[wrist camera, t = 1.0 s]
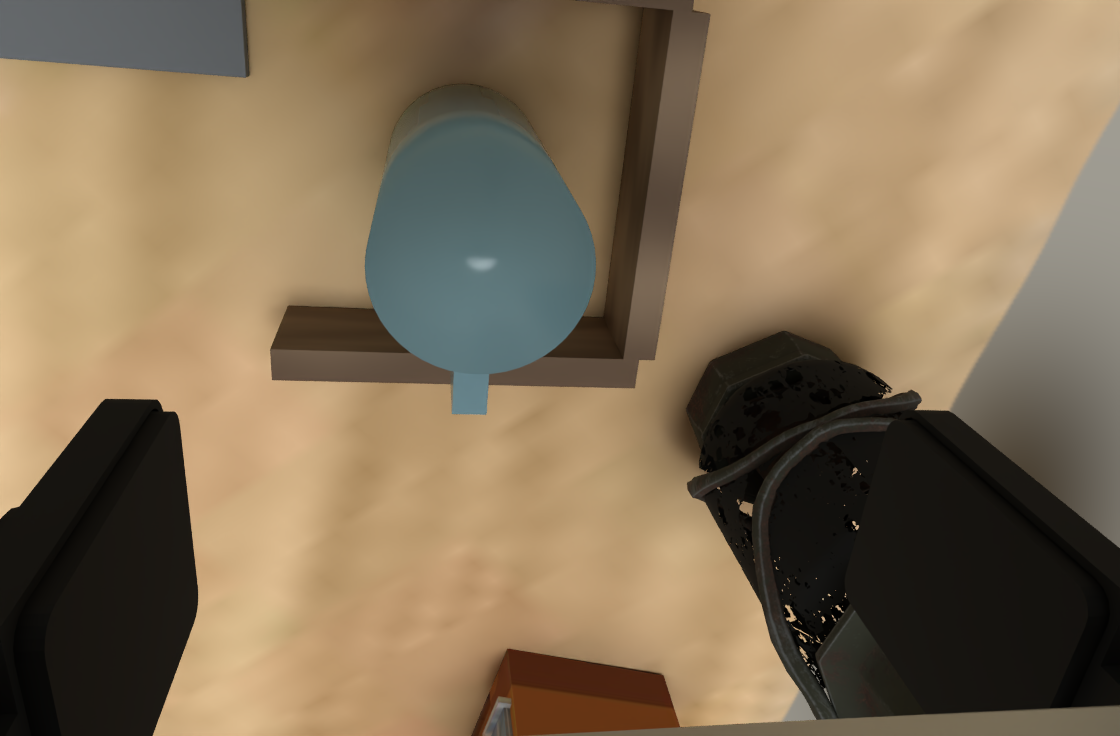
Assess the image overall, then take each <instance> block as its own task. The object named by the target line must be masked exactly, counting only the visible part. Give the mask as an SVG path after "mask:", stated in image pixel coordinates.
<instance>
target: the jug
mask: <svg viewBox="0 0 1120 736" xmlns="http://www.w3.org/2000/svg"><path fill="white" fill-rule="evenodd" d="M595 271H596V257H595V247H594V243H593V239H592V234H591V232H590V229H589V226H588V224H587V221H586V219H585V217H584V215H583V214H582V212H581V210H580V208H579V206H578V205H577V203H576V201H575V200H574V198H573V196H572V194H571V193H570V191H569V189H568V188H567V186H566V184H565V183H564V181H563V179H562V177H561V176H560V174H559V172H558V171H557V169H556V167H555V165H554V164H553V162H552V160H551V159H550V157H549V155H548V153H547V152H546V150H545V148H544V147H543V145H542V143H541V142H540V140H539V138H538V136H537V135H536V133H535V131H534V130H533V128H532V126H531V124H530V123H529V121H528V120H527V118H526V117H525V115H524V114H523V113H522V111H521V110H520V109H519V108H518V107H517V106H516V105H515V104H514V103H512V102H511V101H510V100H509V99H508V98H506V97H504V96H503V95H501V94H500V93H498V92H496V91H493V90H491V89H489V88H485V87H482V86H478V85H471V84H454V85H447V86H444V87H440V88H437V89H435V90H432V91H430V92H428V93H426V94H424V95H423V96H421V97H420V98H418V99H417V100H416V101H415V102H413V103H412V104H411V105H410V106H409V107H408V108H407V109H406V111H405V112H404V113H403V115H402V116H401V117H400V119H399V121H398V123H397V125H396V126H395V128H394V131H393V134H392V137H391V141H390V145H389V150H388V154H387V159H386V163H385V168H384V172H383V176H382V181H381V185H380V190H379V194H378V199H377V203H376V208H375V212H374V217H373V221H372V225H371V230H370V234H369V239H368V244H367V249H366V257H365V275H366V283H367V288H368V292H369V296H370V299H371V302H372V304H373V307H374V309H375V311H376V313H377V315H378V317H379V319H380V321H381V322H382V323H383V325H384V326H385V328H386V329H387V330H388V332H389V333H390V334H391V335H392V336H393V337H394V338H395V339H396V341H397V342H398V343H399V344H401V345H402V346H403V347H404V348H405V349H407V350H408V351H409V352H410V353H412V354H414V355H415V356H417V357H418V358H420V359H421V360H423V361H426V362H428V363H430V364H432V365H434V366H437V367H440V368H443V369H446V370H449V371H450V380H451V403H452V414H483V415H486V413H487V398H488V383H489V374H494V373H501V372H506V371H510V370H513V369H517V368H520V367H523V366H525V365H527V364H530V363H532V362H534V361H536V360H538V359H539V358H541V357H543V356H545V355H546V354H548V353H549V352H550V351H552V350H553V349H554V348H556V347H557V346H558V345H559V344H560V343H561V342H562V341H563V340H564V339H566V337H567V336H568V335H569V334H570V333H571V331H572V330H573V329H574V328H575V326H576V325H577V323H578V322H579V320H580V319H581V317H582V316H583V313H584V311H585V309H586V307H587V305H588V303H589V300H590V297H591V294H592V291H593V286H594V280H595Z"/></svg>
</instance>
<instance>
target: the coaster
mask: <svg viewBox="0 0 1120 736" xmlns="http://www.w3.org/2000/svg"><path fill="white" fill-rule="evenodd" d="M0 58H6V59H19V60H31V61H44V62H56V63H69V64H81V65H94V66H106V67H119V68H131V69H144V70H156V71H169V72H181V73H194V74H206V75H219V76H231V77H244V78H246V77H248V76H249V62H248V46H247V30H246V14H245V0H0Z"/></svg>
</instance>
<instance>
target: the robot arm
mask: <svg viewBox="0 0 1120 736" xmlns="http://www.w3.org/2000/svg"><path fill="white" fill-rule="evenodd" d="M845 591H846V595H847V598H848V601H849V602H850V604H851V606H852V607H853V609H854V610H855V612H856V613H857V615H858V616H859V617H860V619H861V620H862V622H863V623H864V625H865V626H866V628H867V629H868V631H869V632H870V634H871V635H872V636H873V638H874V639H875V641H876V642H877V644H878V645H879V647H880V648H881V650H882V651H883V652H884V654H885V655H886V657H887V658H888V660H889V661H890V663H891V664H892V666H893V667H894V669H895V670H896V671H897V673H898V674H899V676H900V677H901V679H902V680H903V682H904V683H905V685H906V686H907V688H908V689H909V690H910V692H911V693H912V695H913V696H914V698H915V699H916V701H917V702H918V704H919V705H920V706H921V708H922V709H923V711H924V712H925V714H923V715H904V716H884V717H864V718H845V719H826V720H807V721H787V722H768V723H749V724H731V725H713V726H695V727H677V728H659V729H641V730H623V731H605V732H587V733H568V734H549V735H531V736H1120V548H1119V547H1117V546H1116V545H1115V544H1114V543H1112V542H1111V541H1110V540H1109V539H1107V538H1106V537H1105V536H1104V535H1102V534H1101V533H1100V532H1099V531H1098V530H1096V529H1095V528H1094V527H1093V526H1092V525H1090V524H1089V523H1088V522H1087V521H1085V520H1084V519H1083V518H1082V517H1080V516H1079V515H1078V514H1077V513H1076V512H1074V511H1073V510H1072V509H1071V508H1069V507H1068V506H1067V505H1066V504H1064V503H1063V502H1062V501H1060V500H1059V499H1058V498H1057V497H1056V496H1055V495H1053V494H1052V493H1051V492H1049V491H1048V490H1047V489H1046V488H1045V487H1043V486H1042V485H1041V484H1040V483H1039V482H1037V481H1036V480H1035V479H1034V478H1032V477H1031V476H1030V475H1028V474H1027V473H1026V472H1025V471H1024V470H1022V469H1021V468H1020V467H1019V466H1018V465H1016V464H1015V463H1014V462H1012V461H1011V460H1010V459H1009V458H1008V457H1006V456H1005V455H1004V454H1003V453H1002V452H1000V451H999V450H998V449H996V448H995V447H994V446H993V445H991V444H990V443H989V442H988V441H987V440H985V439H984V438H983V437H982V436H981V435H979V434H978V433H977V432H976V431H974V430H973V429H972V428H971V427H969V426H968V425H967V424H966V423H964V422H963V421H962V420H961V419H960V418H958V417H957V416H956V415H955V414H953V413H951V412H949V411H934V410H907V411H905V412H903V413H902V414H901V415H900V417H899V418H898V420H894V421H892V422H891V423H890V424H889V425H888V427H887V430H886V432H885V436H884V439H883V443H882V447H881V450H880V454H879V457H878V461H877V464H876V468H875V472H874V475H873V479H872V482H871V486H870V489H869V493H868V496H867V500H866V504H865V507H864V511H863V514H862V518H861V521H860V525H859V529H858V532H857V536H856V539H855V543H854V546H853V550H852V554H851V557H850V561H849V564H848V568H847V571H846V575H845ZM197 606H198V585H197V576H196V567H195V558H194V549H193V540H192V531H191V522H190V513H189V504H188V495H187V486H186V477H185V467H184V458H183V449H182V440H181V431H180V423H179V418H178V415H177V414H176V412H163V409H162V406H161V404H160V402H159V401H158V400H141V399H105V400H104V401H103V402H101V404H100V405H99V406H98V407H97V409H96V410H95V411H94V412H93V414H92V415H91V416H90V418H89V419H88V420H87V421H86V423H85V424H84V425H83V426H82V428H81V429H80V430H79V432H78V433H77V434H76V435H75V437H74V438H73V439H72V440H71V442H70V443H69V444H68V446H67V447H66V448H65V449H64V451H63V452H62V453H61V454H60V456H59V457H58V458H57V460H56V461H55V462H54V463H53V465H52V466H51V467H50V468H49V470H48V471H47V472H46V473H45V475H44V476H43V477H42V479H41V480H40V481H39V482H38V484H37V485H36V486H35V487H34V489H33V490H32V491H31V493H30V494H29V495H28V496H27V498H26V499H25V500H24V501H23V503H22V504H21V505H20V507H16V508H12V509H10V510H9V511H8V512H7V513H6V514H5V515H4V516H3V517H2V518H1V519H0V736H153V733H154V730H155V727H156V725H157V722H158V719H159V717H160V714H161V711H162V708H163V706H164V703H165V700H166V698H167V695H168V692H169V689H170V687H171V684H172V681H173V679H174V676H175V673H176V670H177V668H178V665H179V662H180V660H181V657H182V654H183V651H184V649H185V646H186V643H187V641H188V638H189V635H190V632H191V630H192V627H193V624H194V621H195V618H196V613H197Z"/></svg>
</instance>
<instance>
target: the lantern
mask: <svg viewBox="0 0 1120 736" xmlns="http://www.w3.org/2000/svg"><path fill="white" fill-rule="evenodd" d="M859 368H860V369H859ZM863 370H864V371H863ZM875 381H876V382H875ZM876 383H877V384H876ZM881 385H883V386H884V387H883V386H881ZM886 386H887V389H888V387H889V388H890V389H892V388H891V387H890V386H888V385H887V384H886V383H885V382H884V381H883V380H881V379H880V378H879V377H877V376H876V375H874V374H873V373H871V372H869V371H867V370H865V369H863V368H861V367H859V366H857V365H853V364H849V363H845V362H842V361H841V360H840V359H839V358H838V357H837V356H836V355H835V354H834V353H833V352H832V351H831V350H830V349H829V348H826V347H824V346H821V345H819V344H816V343H814V342H811V341H809V340H806V339H804V338H801V337H799V336H796V335H794V334H791V333H789V332H786V331H782V332H780V333H778V334H775V335H773V336H770V337H768V338H766V339H763V340H761V341H758V342H756V343H754V344H751V345H749V346H746V347H744V348H742V349H739V350H737V351H734V352H732V353H730V354H727V355H725V356H722V357H720V358H718V359H715V360H713V361H711V362H710V364H709V365H708V367H707V369H706V371H705V373H704V375H703V377H702V379H701V381H700V383H699V385H698V387H697V389H696V391H695V393H694V395H693V396H692V398H691V400H690V402H689V404H688V406H687V408H686V411H687V414H688V417H689V419H690V422H691V425H692V427H693V430H694V433H695V435H696V438H697V441H698V443H699V446H700V449H701V455H700V460H701V459H702V460H701V462H700V460H699V468H701V467H702V468H701V469H702V470H704V471H706V470H707V469H708V470H707V474H704V475H700V476H697V477H694V478H693V479H692V480H691V481H689V482H688V483H687V487H688V491H689V493H690V494H691V496H692V497H693V498H696V499H699V500H702V501H704V502H705V503H706V505H707V506H708V508H709V510H710V512H711V514H712V516H713V518H714V519H715V521H716V523H717V525H718V527H719V528H720V530H721V532H722V534H723V536H724V537H725V539H726V541H727V543H728V545H729V546H730V548H731V550H732V552H733V554H734V555H735V557H736V559H737V560H738V563H739V564H740V565H741V567H742V570H743V572H744V573H745V575H746V577H747V579H748V581H749V582H750V584H751V586H752V588H753V590H754V591H755V593H756V595H757V597H758V599H759V600H760V602H761V604H762V608H763V612H764V615H765V619H766V623H767V627H768V631H769V635H770V638H771V642H772V644H773V646H774V647H775V649H776V651H777V653H778V655H779V657H780V659H781V661H782V663H783V665H784V667H785V669H786V671H787V673H788V674H789V675H790V677H791V678H792V680H793V681H794V682H795V684H796V685H797V687H798V688H799V689H800V691H801V692H802V694H803V695H804V697H805V699H806V700H807V702H808V704H809V706H810V708H811V710H812V712H813V714H814V716H815V717H816V719H817V720H826V719H845V718H864V717H884V716H904V715H923V714H925V712H924V711H923V709H922V708H921V706H920V705H919V704H918V702H917V701H916V699H915V698H914V696H913V695H912V693H911V692H910V690H909V689H908V688H907V686H906V685H905V683H904V682H903V680H902V679H901V677H900V676H899V674H898V673H897V671H896V670H895V669H894V667H893V666H892V664H891V663H890V661H889V660H888V658H887V657H886V655H885V654H884V652H883V651H882V650H881V648H880V647H879V645H878V644H877V642H876V641H875V639H874V638H873V636H872V635H871V634H870V632H869V631H868V629H867V628H866V626H865V625H864V623H863V622H862V620H861V619H860V617H859V616H858V615H857V613H856V612H855V610H854V609H853V607H852V606H851V604H850V602H849V601H848V598H847V596H846V595H845V593H846V591H845V575H846V571H847V568H848V564H849V561H850V557H851V554H852V550H853V546H854V543H855V539H856V536H857V532H858V530H856V529H855V527H856V526H857V525H860V521H861V518H862V514H863V511H864V507H865V504H866V500H867V496H868V493H869V489H870V486H871V482H872V479H873V475H874V472H875V468H876V464H877V461H878V457H879V454H880V450H881V447H882V443H883V439H884V436H885V432H886V430H887V427H888V425H889V424H890V423H891V422H892V421H894V420H898V418H899V417H900V415H901V414H902V413H903V412H905V411H907V410H915V409H916V408H917V406H918V404H920V403H921V401H922V399H921V397H920V396H919V394H918V393H917V392H915V391H913V390H910V391H908V392H907V393H900V394H897V395H894V396H892V397H890V398H885V399H882V397H883V395H884V394H886V393H885V392H887V390H886V389H885V388H886ZM890 389H888V390H889V391H888V393H891V391H890ZM878 393H880V394H881V393H883V394H881V395H880V394H878ZM866 460H867V461H868V462H867V461H866ZM855 467H856V468H857V469H858V471H857V473H856V474H853V472H854V471H853V468H855ZM708 472H709V473H708ZM860 473H861V475H860ZM852 474H853V475H852ZM851 475H852V476H851ZM850 477H851V478H850ZM717 487H720V490H719V489H717ZM720 491H721V492H722V493H721V492H720ZM737 499H739V501H740V504H739V505H738V502H737ZM743 501H745V502H748V503H751V504H753V511H752V517H751V516H749V514H748V512H747V514H748V515H747V514H745V513H743V512H742V511H741V510H740V509H739V506H740V505H741V504H742V503H741V502H743ZM844 505H845V506H844ZM719 514H720V515H719ZM843 519H844V520H843ZM852 521H855V522H856V526H854V525H853V523H852ZM725 525H726V526H725ZM852 527H853V528H852ZM853 529H854V530H853ZM745 533H746V534H745ZM747 535H748V536H747ZM746 538H747V539H746ZM747 540H748V541H747ZM736 543H737V544H736ZM744 545H745V546H744ZM752 545H753V547H752ZM752 548H753V549H752ZM742 552H743V553H742ZM779 557H780V558H779ZM779 559H780V560H779ZM774 560H775V561H776V562H774ZM754 561H755V562H754ZM776 567H777V569H779V570H777V569H776ZM744 569H745V570H744ZM816 578H817V579H816ZM788 579H789V580H790V582H789V580H788ZM784 584H785V585H784ZM753 585H754V586H753ZM782 589H783V591H782ZM835 590H836V591H835ZM790 594H791V595H790ZM828 594H830V595H831V596H828ZM844 596H846V597H844ZM822 598H824V600H822ZM783 605H784V606H783ZM785 605H787V606H788V605H789V606H790V609H791V610H792V612H793V614H794V616H796V618H797V620H795V621H793V622H789V620H788V621H787V620H786V618H788V617H790V618H791V616H790V613H789V612H788V610H787V608H786V607H785ZM836 605H839V607H840V608H841V610H842V611H843V612H844V613H842V612H841V610H838V609H837V608H836V607H835V606H836ZM842 606H843V607H842ZM791 607H792V608H791ZM831 608H832V609H831ZM818 611H821V612H820V613H819V612H818ZM784 613H785V614H784ZM814 614H815V615H814ZM832 615H833V616H834V618H835V619H836V621H835V620H833V619H834V618H833V617H832ZM822 616H823V617H824V618H825V620H826V621H823V620H822V618H821V617H822ZM838 618H839V620H838ZM794 619H795V618H794ZM798 620H799V621H800V622H799V621H798ZM822 621H823V622H824V623H822ZM799 623H800V624H799ZM801 623H802V624H801ZM791 624H792V625H791ZM788 625H789V626H788ZM793 627H795V628H797V629H799V630H802V631H803V632H805V633H806V634H808V635H809V636H808V635H806V634H804V633H802V632H800V631H799V630H796V629H795V628H793ZM800 633H801V635H803V636H804V638H805V639H806V641H807V642H804V640H803V639H800V638H799V636H800ZM798 635H799V636H798ZM824 635H825V636H824ZM810 636H811V637H812V638H811V637H810ZM817 636H818V638H819V639H820V641H819V640H818V639H817ZM800 637H801V636H800ZM825 637H826V638H825ZM810 640H811V641H810ZM816 640H817V641H819V642H820V643H818V642H817V641H816ZM812 641H813V643H812ZM821 643H822V644H821ZM799 646H800V647H801V648H802V649H803V650H804V651H805V652H806V653H805V654H806V655H807V656H808V657H809V658H808V659H807V658H806V657H805V656H804V655H803V654H801V653H802V652H800V649H801V648H800V647H799ZM799 648H800V649H799ZM802 655H803V656H802ZM804 657H805V659H806V660H807V663H806V662H805V660H804V659H803V658H804ZM812 661H813V662H812ZM807 664H810V665H809V666H808V665H807ZM812 665H814V666H815V667H816V668H817V670H816V671H815V669H814V668H813V666H812ZM811 667H812V668H813V669H812V668H811ZM811 670H812V671H813V672H814V671H815V674H816V675H814V674H813V673H812V671H811ZM818 673H819V674H818ZM819 676H820V677H819ZM816 677H818V679H819V681H820V682H819V681H818V679H817V678H816ZM820 679H821V680H820ZM824 688H826V689H827V692H828V695H829V698H830V701H831V703H830V701H829V699H828V697H827V695H826V693H825V691H824ZM831 704H832V705H831Z"/></svg>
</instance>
